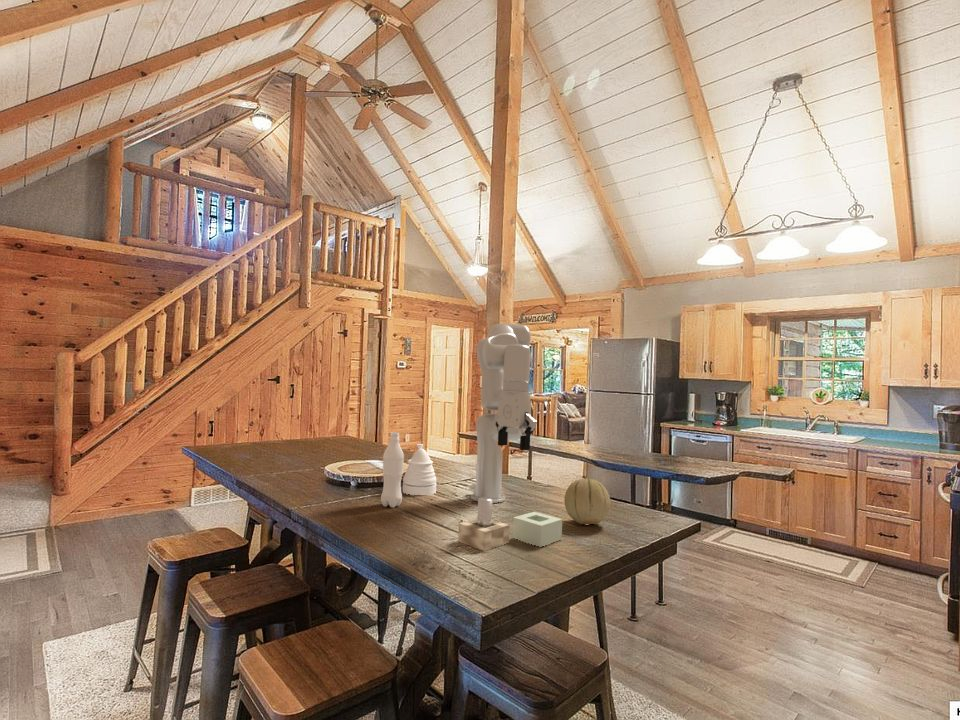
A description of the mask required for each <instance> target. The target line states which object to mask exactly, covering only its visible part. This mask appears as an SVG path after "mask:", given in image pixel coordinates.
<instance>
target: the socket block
mask: <svg viewBox="0 0 960 720" xmlns="http://www.w3.org/2000/svg"><path fill="white" fill-rule="evenodd" d="M510 529H511V528H510V524H507V523H503V522H501V521H498V520H494V519H492V525H491V526H490V527H487V528H483V527H480V526H477V518H474V519H470V520H467V521H466V520H465V521H462V522H459V523H458V534H457V536H458V537H457V542H459V543H462V544H464V545H467V546H469V547H473V548H475V549H477V548H478V550H481V551H483V552H486V551H489V550H493V549H496V548H499V547H502V546H504V544H505V545H507V544H506V543H508V544H510ZM501 545H502V546H501ZM498 546H499V547H498ZM495 547H496V548H495ZM492 548H493V549H492Z"/></svg>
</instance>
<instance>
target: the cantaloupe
mask: <svg viewBox="0 0 960 720" xmlns="http://www.w3.org/2000/svg"><path fill="white" fill-rule="evenodd" d="M563 501H564V507H565V510H566V512H567V514H568V516H569V517H570V518H571V519H572V520H573V521H574V522H576V523H577V524H580V525H582V524H594V525H597V523H598V524H601V522H604V520H605V519H607V517H608V515H609V513H610V509H611V496H610V493H609V491H608V490H607V488H606V487H605V486H604V484H602V482H600V481H598V480H596V479H592V478H588V476H586V475H582V477H581V479H580V478H579V479H577V480H576V479H575V480H574V481H573V482H571V483H570V484H569V486H568V487H567V489H566V491H565V494H564V500H563Z"/></svg>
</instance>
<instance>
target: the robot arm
mask: <svg viewBox="0 0 960 720" xmlns="http://www.w3.org/2000/svg"><path fill="white" fill-rule="evenodd" d="M531 337H532V336H531V332H530V329H529V328H528V326H527V325H525V324H521V323H519V324H517V323H496V324H494V325H492V326H491V328H490V329H489V331H488V337H486V338H482V339H480V340H478V342H477V344H476V357H477V362H478V365H479V368H480V372H481V385H480V386H481V387H480V388H481V389H480V403H481V407H482V408H483V409H484V410H487V411H496V412H497V414H496V413H495V414H494V413H486V414H482V415H480V416H478V417H477V419H476V422H475V423H476V424H475V428H476V440H477V443H476V444H477V445H476V446H477V449H476V470H475V471H476V473H475V474H476V476H475V483H472V484H471V486H469V487H468V489H469V490H470V491H472V492H473V493H472V494H470V499H471V500H472V501H475V502H477V503H478V498H480V497H489V498H492V499H493V503H492V504H497V503H498V502H499V503H502V502H504V501H505V500H506V497H505V495H503V494H502V477H503V476H502V475H503V474H502V473H503V459H504V458H503V450H502V448H501V447H502V446H507V445H508V441H519V451H530V450H531V437H532V436H533V433H534V431H535V428H536V426H537V423H538V421H537V420H536V419H535V418H534V417H533V416H532V402H531V395H530V374H531V372H530V370H531V369H530V368H531V363H532V353H531V348H530V345H531V344H530V343H531Z"/></svg>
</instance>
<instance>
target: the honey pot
mask: <svg viewBox="0 0 960 720" xmlns="http://www.w3.org/2000/svg"><path fill="white" fill-rule="evenodd" d="M416 447H417V450H416V451H415V452H414V453H413V455H412V457H411V459H408V460H406V461H407V462H406V463H407V464H408V466H407V468H406V472H405V473H404V476H403V478H402V479H403V480H402V493H403V494H405V493H406V494H405V495H408V494H410V495H409V496H414V495H427V496H431V495H430V494H433V495H434V493H435V494H436V493H437V477H436V473H435V469H434V467H433V463H434V461H433V460H431V458H430V455H429V454H428V451H427V450H426V449H424V444H423V443H416Z"/></svg>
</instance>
